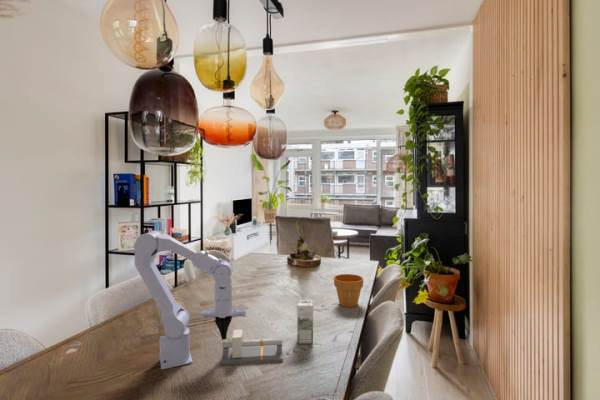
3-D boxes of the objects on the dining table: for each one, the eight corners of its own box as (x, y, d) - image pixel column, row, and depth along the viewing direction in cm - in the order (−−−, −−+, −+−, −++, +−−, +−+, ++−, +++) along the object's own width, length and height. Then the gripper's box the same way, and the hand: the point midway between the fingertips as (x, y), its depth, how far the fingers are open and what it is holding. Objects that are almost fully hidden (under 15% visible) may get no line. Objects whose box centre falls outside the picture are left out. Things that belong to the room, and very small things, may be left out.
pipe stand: (221, 365, 106) (220, 348, 106) (224, 351, 115) (224, 335, 115) (283, 361, 108) (282, 344, 108) (281, 348, 117) (281, 332, 117)
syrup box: (312, 337, 126) (311, 299, 126) (313, 344, 120) (313, 305, 120) (297, 337, 126) (297, 299, 125) (297, 344, 120) (297, 305, 119)
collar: (232, 357, 108) (232, 337, 108) (234, 348, 114) (234, 329, 114) (241, 357, 108) (241, 337, 108) (243, 348, 114) (242, 329, 114)
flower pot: (363, 310, 153) (363, 282, 153) (332, 308, 156) (332, 281, 156) (363, 300, 167) (363, 274, 167) (335, 298, 170) (335, 273, 170)
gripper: (198, 303, 105) (199, 344, 106) (244, 301, 107) (245, 342, 107) (203, 296, 112) (203, 335, 113) (246, 294, 114) (246, 333, 114)
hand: (224, 338), depth 111 cm, fingers closed
